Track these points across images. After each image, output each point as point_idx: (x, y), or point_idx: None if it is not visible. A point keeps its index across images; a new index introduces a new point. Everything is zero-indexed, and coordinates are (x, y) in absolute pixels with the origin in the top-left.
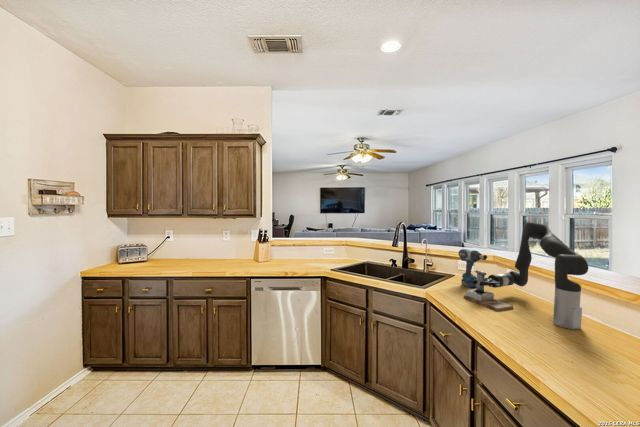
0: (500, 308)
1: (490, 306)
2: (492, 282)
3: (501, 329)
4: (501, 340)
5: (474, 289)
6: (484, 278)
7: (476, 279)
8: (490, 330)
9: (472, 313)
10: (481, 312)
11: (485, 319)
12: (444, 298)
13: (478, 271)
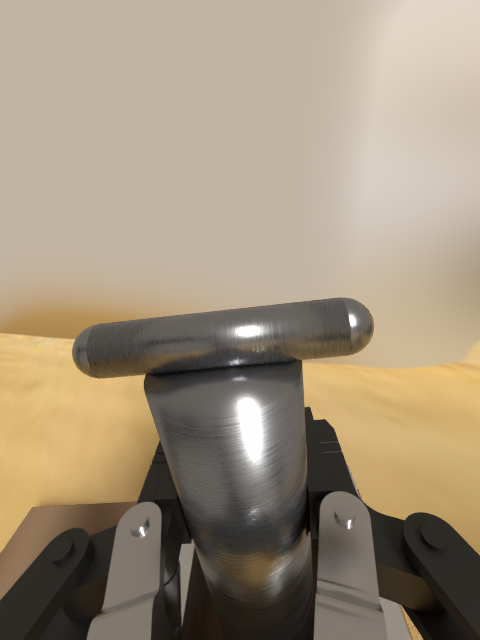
0: (10, 543)
1: (90, 507)
2: (9, 596)
3: (18, 381)
4: (20, 349)
5: (382, 602)
6: (167, 461)
7: (389, 517)
8: (51, 358)
9: (140, 385)
10: (117, 420)
11: (80, 388)
12: (345, 388)
13: (265, 307)
